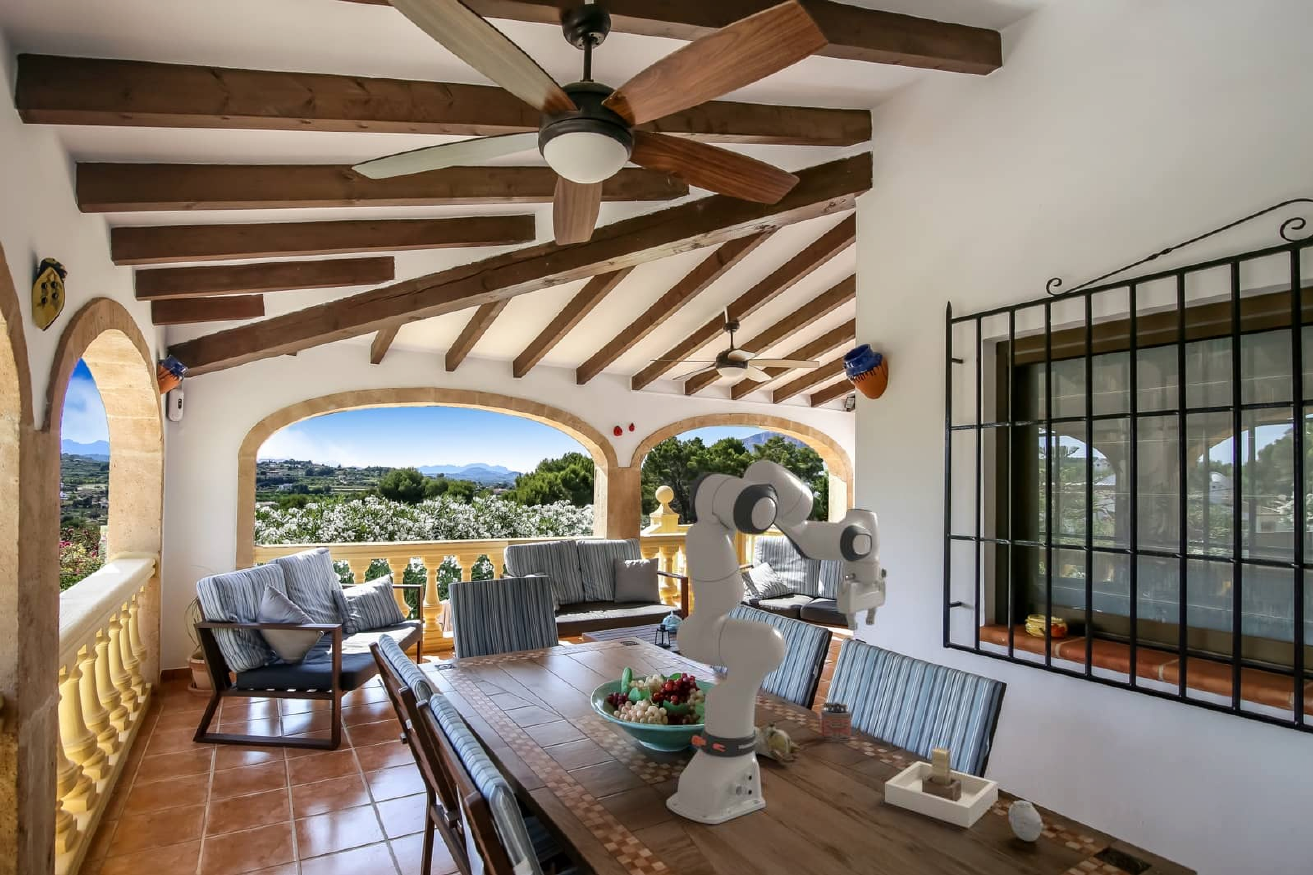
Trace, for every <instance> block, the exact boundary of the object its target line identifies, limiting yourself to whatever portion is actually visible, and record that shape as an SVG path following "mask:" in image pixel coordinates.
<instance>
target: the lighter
mask: <svg viewBox="0 0 1313 875" xmlns="http://www.w3.org/2000/svg"><path fill="white" fill-rule="evenodd" d="M847 706H848V705H847V703H840V702H839V701H835V702H829V701H828V702H826V701H824V702H823V708H825V709H821V710H820V715H821V734H820V740H821V741H823V742H832V743H851V742H852V737H851V717H852V712H851V711H849V710H847ZM850 741H851V742H850Z"/></svg>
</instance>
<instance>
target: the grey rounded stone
mask: <svg viewBox="0 0 1313 875" xmlns="http://www.w3.org/2000/svg"><path fill="white" fill-rule="evenodd" d="M1008 821H1009V823H1010V826H1011V829H1012V830H1013V832H1014V834H1015V835H1016V836H1017V837H1018V838H1019V839H1020V840H1022V841H1024V842H1025V841H1026V842H1034V841H1035V840H1037V839H1039V836H1040V835H1041V833H1042V832H1043V828H1044V824H1043V821H1042V819H1041V815H1040V813H1039V812H1038V811H1037V810H1036V808H1035V807H1034V806H1033V803H1032V802H1030V801H1027V800H1016V801H1013V803H1012V804H1011V805H1010V807H1009V809H1008Z"/></svg>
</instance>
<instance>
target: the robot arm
mask: <svg viewBox="0 0 1313 875" xmlns="http://www.w3.org/2000/svg"><path fill="white" fill-rule="evenodd" d="M689 490H690V491H689V497H688V499H689V501H688V502H689V507H690V510H689V515H690V517H691V518H692V520H693V522H694V523H693V524H692V525H691V526H689V528H688V529H687V531H686V534H685V556H686V563H687V564H686V565H687V570H688V575H689V579H690V583H691V589H692V594H693V609H692V611H691V613H690V614H689V615H688V616H686V617H685V618H684V619H683V620H682V621H681V623H680V624H679V625H678V629H677V631H676V637H675V638H676V639H675V640H676V646H677V648H678V651H679V653H680V654H681V656H682V657H683V658H685V659H688V660H691V661H693V662H695V663H699V664H702V665H708V666H714V667H720V668H726V669H727V676H726V677H727V678H726V680H724V681H723V680H722V682H718V683H716V684H715V685H713V686H711V688H709V689H708V690H707V692H706V694H705V697H704V727H703V729H702V733H701V735H700V736H698V735H696V734H695V735H693V736H692V738H691V744H692V745H693V746H698V750H697V752H695V754H694V756H693V757H692V759H691V760H690V761H689V763H688V764H687V766H686V767H685V768H684V769H683V771H682V773H680V775H679V779H678V786H677V792H675V793H674V794H672V795H671V796H670V797H669V798H668V799H666V802H665V803H666V804H665V805H666V807H667V809H669V810H671V811H672V812H674V813H675V814H677V815H679V816H682V817H683V818H687V819H690V820H692V821H694V822H695V821H696V822H699V823H704V824H709V825H710V824H711V825H718V824H722V823H724V822H727V821H729V820H732V819H735V818H738V817H741V816H744V815H747V814H750V813H752V812H755V811H758V810H760V809H763V808H765V807H766V800H765V798H764V797H763V796H762V785H761V775H760V774H761V773H760V772H761V771H760V765H759V762H758V760H757V756H756V755H755V751H754V750H755V749H756V731H755V730H754V726H755V712H756V709H755V708H756V700H757V699H756V698H757V694H758V693H759V692H758V691H759V689H760V687H761V685H762V683H763V681H765V679H766V678H767V677H768V676H769V675H770V674H771V673H773V672H775V671H776V670H777V669H779V667H780V666H781V665H782V664H783V662H784V660H785V657H786V653H787V643H786V640H785V637H784V633H783V632H782V630H781V629H780V628H779V627H777V626H775V625H772V624H769V623H767V622H763V621H759V620H753V619H745V618H735V617H732V616H730V615H729V613H731V612H733V611H735V610H736V609H737V608H738V607H739V606H740V605H741V603H742V602H743V600H744V597H745V587H744V582H743V576H742V572H741V569H740V568H741V566H740V562H739V559H738V554H737V551H736V548H735V539H736V538H735V537H736V533H737V531H738V532H741V533H743V534H744V535H745V534H746V535H751V536H754V535H762V534H764V533H766V532H767V531H768V530H769V529H770V528H771V527H772V526H773V525H774V527H776V528H777V530H779V531H780V532H781V534H783V535H784V536H785V537H786V538H787V539H788V540H789V541H790V542H791V544H792V546H793V548H794V549H795V551H796V552H797V554H798V555H799V557H801V558H802V559H804V560H809V561H810V560H811V561H813V560H814V561H816V560H820V561H828V562H829V561H830V562H838V563H843V578H842V580H841V581H840V583H839V584H838V587H837V596H836V609H837V612H838V613H839V614H845V618H846V620H847V624H848V627H847V628H848V630H849V631H853V632H854V631H857V630H858V625H859V624H858V622H857V620H856V617H857V613H859V612H863V611H867V616H866V617H865V625H867V626H874V625H875V621H876V620H875V619H876V615H877V611H878V607H881V606H884V604H885V602H886V599H887V598H886V596H887V581H886V579H887V577H888V570H887V569H886V568H885V567H882V566H881V565H880V558H879V551H878V550H879V546H880V526H879V521H878V516H877V514H876V512H873V511H871V510H870V509H869V510H868V509H862V508H849V509H847V510H846V512H845V517H843V519H841V520H839V521H838V522H830V521H816V520H811V519H810V520H809V519H807V518H808V517H809V516H810V514H811V513H812V510H813V506H814V495H813V493H812V491H811V489H810V488H809V486H808V484H806V483H805V482H804V481H803V480H802V479H801V478H799V476H797V475H795V474H794V473H793V472H792V471H790V470H789V469H788V468H785V467H784V466H783V465H780V464H778V463H777V462H774V461H772V460H769V459H759V460H757V461H755V462H753V463H752V464H750V465H749V466H748V468H747V469H746V470H745V472H744V473H743V477H742V478H741V477H738V476H734V475H729V474H723V473H722V472H716V471H715V472H714V471H712V472H711V471H710V472H709V471H708V472H704V473H701V474H699V475H697V477H695V478H694V480H693V482H692V484H691V487H690V489H689Z"/></svg>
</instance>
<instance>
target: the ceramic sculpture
mask: <svg viewBox="0 0 1313 875" xmlns="http://www.w3.org/2000/svg"><path fill="white" fill-rule="evenodd" d="M754 730H755V731H756V749H755V750H754V751H755V756H756V755H759V754H761V755H763V756H766V757H767V758H769V759H772V760H776V761H777V762H779V763H781V764H790V763H796V762H797V760H796V759H794V758H793V756H792V754H793V755H796V754H800V753H803V752H806V751H807V750H808V748H807V747H800V746H799V745H797V744H796V743H795V742H793V741H791V736H790V735H789V734H788V732H787V731H786V730H783V729H780V728H776V725H775V724H774V723H770V724H766V725H765V726H763V728H759V727H757V726H755V725H754Z"/></svg>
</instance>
